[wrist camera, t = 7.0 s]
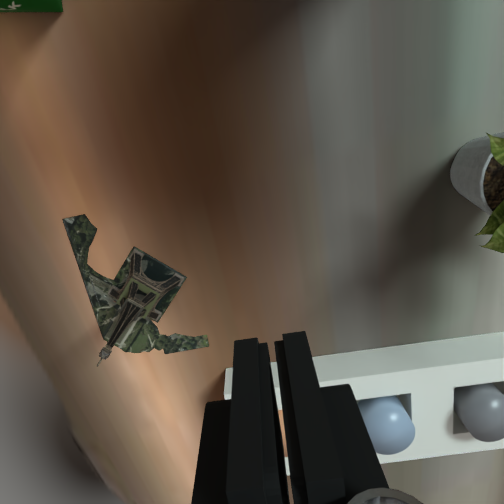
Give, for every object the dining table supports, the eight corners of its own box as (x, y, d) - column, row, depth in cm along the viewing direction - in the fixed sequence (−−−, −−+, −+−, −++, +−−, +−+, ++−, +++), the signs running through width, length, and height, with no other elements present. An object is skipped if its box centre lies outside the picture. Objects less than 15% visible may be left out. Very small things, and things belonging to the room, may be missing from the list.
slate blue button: (401, 387, 37) (415, 410, 34) (402, 425, 39) (415, 451, 36) (354, 393, 38) (363, 417, 34) (356, 431, 39) (366, 457, 36)
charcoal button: (497, 374, 37) (520, 397, 34) (495, 413, 39) (517, 438, 35) (450, 381, 37) (468, 403, 34) (449, 419, 39) (467, 444, 36)
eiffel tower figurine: (61, 215, 35) (-42, 266, 22) (174, 192, 35) (134, 231, 22) (113, 361, 40) (51, 473, 27) (213, 342, 39) (199, 447, 26)
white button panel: (512, 330, 39) (541, 353, 35) (506, 415, 42) (533, 444, 38) (225, 368, 39) (223, 394, 36) (240, 449, 42) (240, 481, 39)
